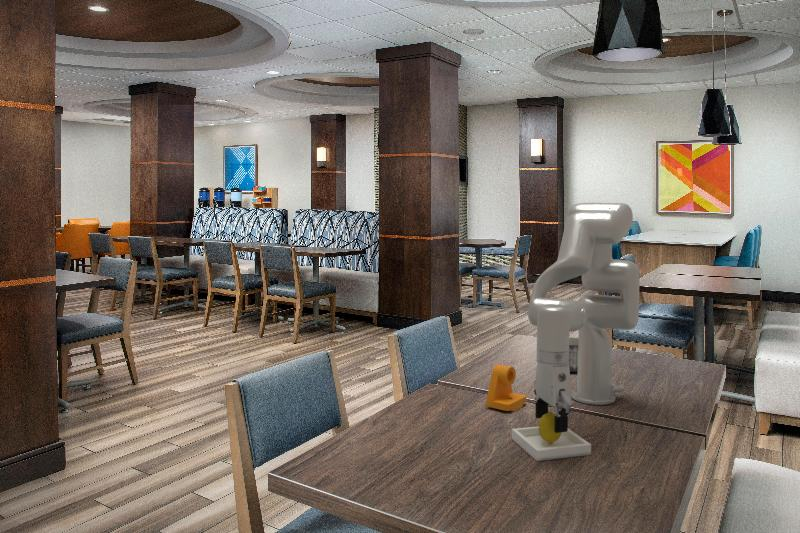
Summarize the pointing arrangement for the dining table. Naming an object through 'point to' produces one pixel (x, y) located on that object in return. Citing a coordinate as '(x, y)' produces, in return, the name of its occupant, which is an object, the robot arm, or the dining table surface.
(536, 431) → the tray
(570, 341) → the planter
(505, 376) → the bracket
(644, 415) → the dining table surface
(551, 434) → the lemon
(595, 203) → the robot arm
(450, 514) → the dining table surface
